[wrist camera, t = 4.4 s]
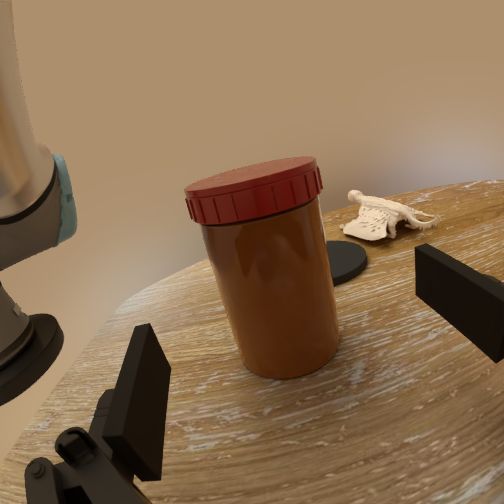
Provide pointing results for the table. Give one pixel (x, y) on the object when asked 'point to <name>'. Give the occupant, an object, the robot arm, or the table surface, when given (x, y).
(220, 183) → the lid
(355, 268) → the coaster
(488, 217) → the table surface
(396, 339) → the table surface
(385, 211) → the white dragon
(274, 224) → the jar
